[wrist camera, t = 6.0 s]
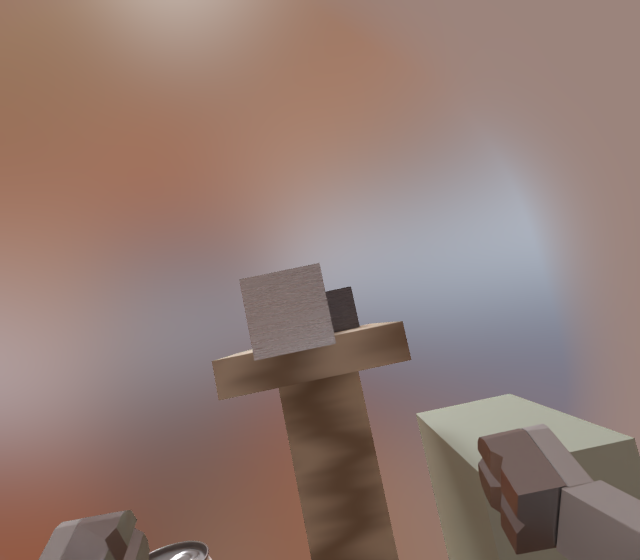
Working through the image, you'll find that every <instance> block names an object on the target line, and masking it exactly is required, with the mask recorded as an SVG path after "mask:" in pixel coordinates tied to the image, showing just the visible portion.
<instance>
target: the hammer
mask: <svg viewBox="0 0 640 560" xmlns="http://www.w3.org/2000/svg"><path fill="white" fill-rule="evenodd" d="M240 286H241V291H242V296H243V302H244V307H245V313H246V318H247V323H248V328H249V333H250V339H251V345H252V350H253V355H254V361H255V360H260V359H265V358H270V357H275V356H279V355H284V354H289V353H294V352H298V351H303V350H308V349H313V348H317V347H322V346H327V345H332V344H336V341H335V336H334V333H335V332H339V331H344V330H349V329H354V328H358V327H360V326H359V322H358V317H357V313H356V308H355V304H354V299H353V294H352V290H351V287H346V288H341V289H337V290H332V291H327V292H325V288H324V284H323V279H322V274H321V269H320V264H319V263H317V264H313V265H308V266H303V267H298V268H293V269H288V270H284V271H279V272H274V273H269V274H264V275H260V276H255V277H250V278H245V279H240Z"/></svg>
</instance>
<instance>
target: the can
mask: <svg viewBox="0 0 640 560" xmlns="http://www.w3.org/2000/svg"><path fill="white" fill-rule="evenodd" d="M208 554H209V549H208V546H207V545H206V544H205V543H203V542H199V541H185V542H179V543H174V544H171V545H168V546H165V547H162V548H159V549H157V550H155V551H153V552H151V553H149V560H212V559H211V558H210V556H209V555H208Z"/></svg>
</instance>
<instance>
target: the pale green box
mask: <svg viewBox="0 0 640 560" xmlns="http://www.w3.org/2000/svg"><path fill="white" fill-rule="evenodd" d="M416 416H417V421H418V425H419V430H420V434H421V438H422V443H423V447H424V451H425V456H426V460H427V465H428V469H429V474H430V478H431V482H432V487H433V491H434V495H435V500H436V505H437V509H438V513H439V517H440V522H441V527H442V531H443V535H444V540H445V544H446V549H447V553H448V557H449V560H568V559H567V558H566V557H564V556H563V555H562V554H561V553H559V552H558V551H557V550H556V548H552V549H546V550H540V551H535V552H529V553H524V554H518V555H516V553H515V551H514V549H513V547H512V545H511V544H510V542H509V540H508V538H507V536H506V534H505V532H504V530H503V529H502V527H501V513H500V512H498V511H497V510H495V509H494V508H492V507H491V506H490V504H489V502H488V500H487V498H486V496H485V493H484V491H483V488H482V485H481V481H480V477H479V470H478V463H479V462H480V460H481V459H482V456H481V455H480V453H479V451H478V439H479V437H482V436H486V435H491V434H496V433H500V432H505V431H509V430H514V429H518V428H520V429H521V428H524V427H529V426H534V425H539V424H545V425H546V426H548V427H549V428H550V430H551V431H552V432H553V433H554V434H555V435H556V437H557V438H558V439H559V440H560V441H561V443H562V444H563V445H564V446H565V447H566V449H567V450H568V451H569V452H570V453H571V455H572V456H573V457H574V458H575V459H576V461H577V462H578V463H579V464H580V465H581V467H582V468H583V469H584V470H585V471H586V472H587V474H588V475H589V476H590V477H591V478H592V480H593V481H598V480H602V481H604V482H605V483H607V484H609V485H611V486H613V487H615V488H617V489H619V490H621V491H623V492H625V493H627V494H629V495H631V496H633V497H635V498H637V499H639V500H640V456H639V453H638V449H637V445H636V442H635V438H632V437H630V436H627V435H624V434H621V433H618V432H616V431H613V430H610V429H607V428H604V427H601V426H599V425H596V424H593V423H590V422H587V421H585V420H582V419H579V418H576V417H574V416H571V415H568V414H565V413H562V412H559V411H557V410H554V409H551V408H548V407H545V406H542V405H540V404H537V403H534V402H531V401H529V400H526V399H523V398H520V397H517V396H515V395H512V394H507V395H502V396H497V397H492V398H488V399H483V400H479V401H474V402H469V403H465V404H459V405H455V406H450V407H445V408H441V409H436V410H431V411H427V412H422V413H418V414H416Z"/></svg>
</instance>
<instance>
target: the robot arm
mask: <svg viewBox="0 0 640 560" xmlns="http://www.w3.org/2000/svg"><path fill="white" fill-rule="evenodd" d="M478 451H479V453H480V455H481V456H482V459H481V460H480V462H479V463H478V470H479V477H480V481H481V485H482V488H483V491H484V493H485V496H486V498H487V500H488V502H489V504H490V506H491V507H492V508H494V509H495V510H497V511H498V512H500V513H501V527H502V529H503V530H504V532H505V534H506V536H507V538H508V540H509V542H510V544H511V545H512V547H513V549H514V551H515V553H516V555H518V554H524V553H529V552H535V551H540V550H546V549H552V548H556V550H557V551H558V552H559V553H561V554H562V555H563V556H564V557H566V558H567V559H568V560H640V500H639V499H637V498H635V497H633V496H631V495H629V494H627V493H625V492H623V491H621V490H619V489H617V488H615V487H613V486H611V485H609V484H607V483H605V482H604V481H602V480H598V481H593V480H592V478H591V477H590V476H589V475H588V474H587V472H586V471H585V470H584V469H583V468H582V467H581V465H580V464H579V463H578V462H577V461H576V459H575V458H574V457H573V456H572V455H571V453H570V452H569V451H568V450H567V449H566V447H565V446H564V445H563V444H562V443H561V441H560V440H559V439H558V438H557V437H556V435H555V434H554V433H553V432H552V431H551V430H550V428H549V427H548V426H546V425H545V424H539V425H534V426H529V427H524V428H521V429H520V428H518V429H514V430H509V431H505V432H500V433H496V434H491V435H486V436H482V437H479V439H478ZM136 521H137V519H136V517H135V516H134V514H133V513H132V511H131V510H127V511H121V512H115V513H109V514H104V515H98V516H93V517H86V518H82V519H77V520H72V521H67V522H62V523H61V524H60V525H59V526H58V527H56V529H55V530H54V532H53V533H52V535H51V537H50V539H49V541H48V543H47V545H46V547H45V549H44V551H43V552H42V554H41V556H40V558H39V560H149V545H148V540H147V538H146V536H145V534H144V533H143V532H142V531H140V530H137V529H136V528H134V527H135V524H136Z"/></svg>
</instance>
